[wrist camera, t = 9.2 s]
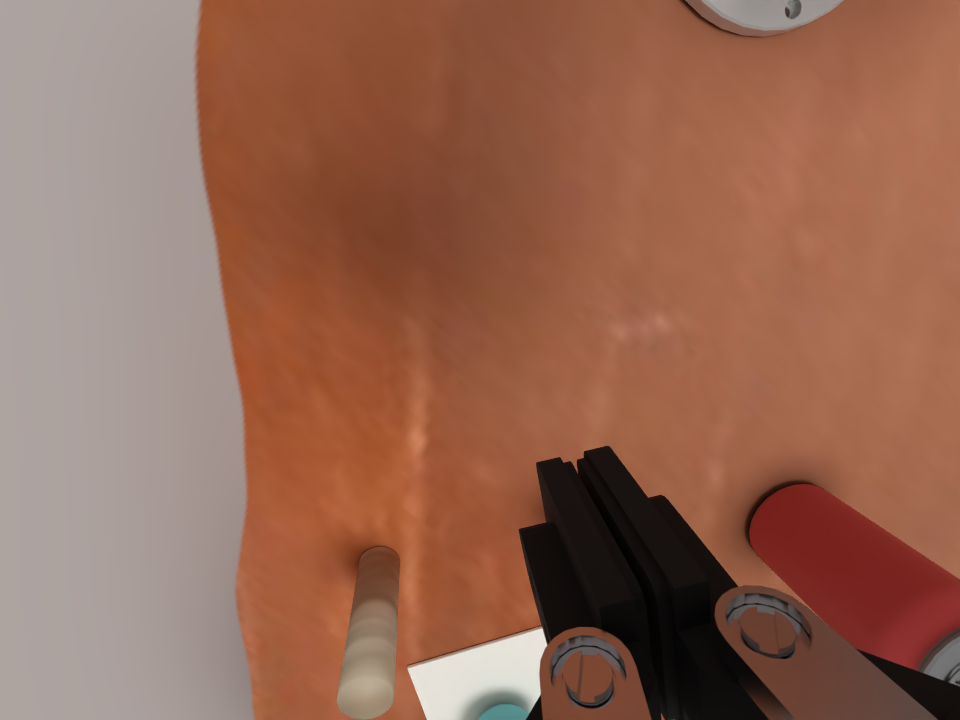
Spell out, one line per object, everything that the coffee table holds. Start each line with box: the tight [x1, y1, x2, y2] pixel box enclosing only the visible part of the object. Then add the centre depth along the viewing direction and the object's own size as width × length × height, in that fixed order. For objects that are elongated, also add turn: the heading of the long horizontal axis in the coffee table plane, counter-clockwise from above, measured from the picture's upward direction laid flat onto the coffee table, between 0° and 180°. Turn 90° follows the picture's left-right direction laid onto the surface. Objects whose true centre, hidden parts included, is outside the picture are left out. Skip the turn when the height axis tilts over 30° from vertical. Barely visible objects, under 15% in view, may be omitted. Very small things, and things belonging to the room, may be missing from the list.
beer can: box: [749, 484, 960, 686], centre depth 28 cm, size 7×7×12 cm
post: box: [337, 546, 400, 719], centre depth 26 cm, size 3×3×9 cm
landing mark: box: [408, 626, 547, 720], centre depth 36 cm, size 14×14×1 cm
